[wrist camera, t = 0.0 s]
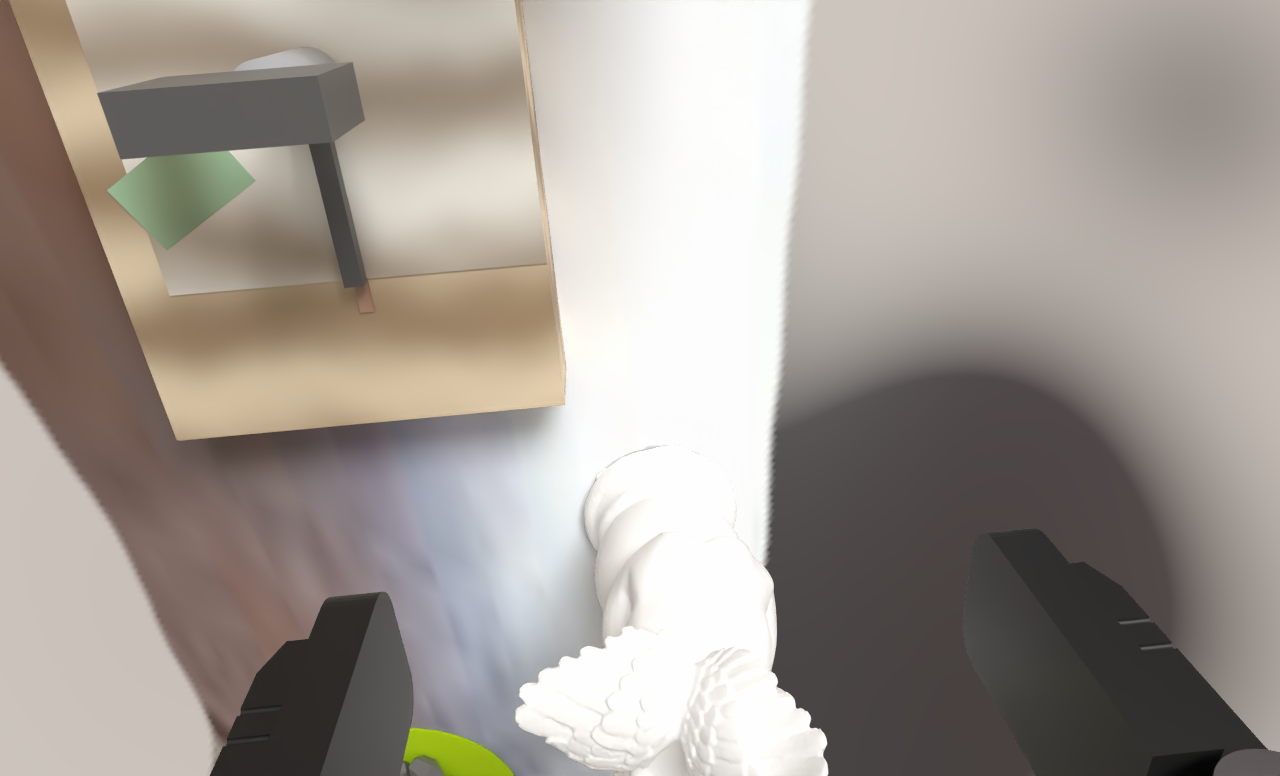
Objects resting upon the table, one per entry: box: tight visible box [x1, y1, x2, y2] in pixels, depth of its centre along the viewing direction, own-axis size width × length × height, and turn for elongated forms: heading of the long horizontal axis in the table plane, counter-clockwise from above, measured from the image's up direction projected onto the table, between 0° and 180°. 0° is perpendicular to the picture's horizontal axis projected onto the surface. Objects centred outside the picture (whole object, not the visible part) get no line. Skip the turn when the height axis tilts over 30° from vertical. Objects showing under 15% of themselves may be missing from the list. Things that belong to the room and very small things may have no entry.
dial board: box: [9, 0, 566, 441], centre depth 34 cm, size 24×18×4 cm
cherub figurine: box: [515, 445, 828, 776], centre depth 36 cm, size 12×12×22 cm
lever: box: [97, 47, 367, 288], centre depth 28 cm, size 9×6×9 cm, turn 4°
